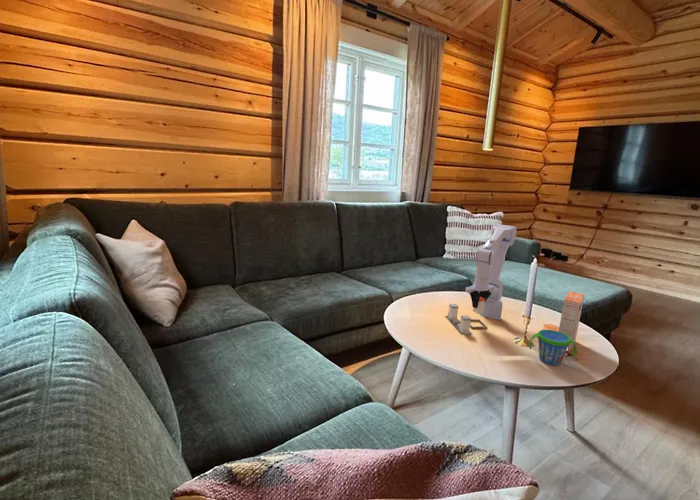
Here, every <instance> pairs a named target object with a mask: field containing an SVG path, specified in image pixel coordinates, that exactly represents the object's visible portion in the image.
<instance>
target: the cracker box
mask: <svg viewBox="0 0 700 500" xmlns="http://www.w3.org/2000/svg"><path fill="white" fill-rule="evenodd" d="M584 299H585V294H584V293H579V292H576V291H572V290H571V291H570V290H569V291H568V293H567V294H566V296H565V298H564V300H563V305H562V310H561V316H560V323H559V327H558V328H559V329H558V332H561V333H564V334H566V335H567V336H569V337H570V339H572V340H573V341H574V342H575V343H576V339H577V334H578V329H579V324H580V320H581V319H580V318H581V315H582V309H583V304H584ZM573 349H574V344H573V343H572V342H571V343H570V344H569V346H568V352H567V353H569V354H572V353H573Z"/></svg>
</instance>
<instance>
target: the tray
mask: <svg viewBox="0 0 700 500" xmlns="http://www.w3.org/2000/svg"><path fill="white" fill-rule="evenodd" d="M473 322H475V323H476V322H477V323H479V324H480V325H481V326H473V325H472V324H470V329H471V330H488V326H487V325H486V324H485V323H483V321H482V320H480V319H479V318H476V319H475V318H474V319H472V318H471V322H470V323H473Z"/></svg>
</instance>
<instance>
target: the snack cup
mask: <svg viewBox="0 0 700 500" xmlns="http://www.w3.org/2000/svg"><path fill="white" fill-rule="evenodd" d="M535 338H537V339H538V358H539V359H540V361H542V362H543V363H545V364H548V365H554V366H559V365H560V364H562V362H563V361H564V357H565V355H566V349H567V347H568V346H569V344H570V343H571V342H572V343H573V344H574V346H573V349H572V352H571V355H572V357H576V355H577V349H578V348H577V344H576V341H575V342H574V341H573V340H572V339H570V337H569V336H567V335H566V334H564V333H561V332H559V330H554V329H540V330H539V331H538V332H537V333H534V334H533V335H532V336H531V337H530V338H529V341H528V347H529V350H532V341H533V340H534V339H535Z"/></svg>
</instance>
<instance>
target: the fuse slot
mask: <svg viewBox="0 0 700 500" xmlns="http://www.w3.org/2000/svg"><path fill="white" fill-rule="evenodd" d="M471 319H472V318H471V317H470V316H469V315H460V320H459V321H460V328H459V330H460V331H461V332H462V333H463V331H470V329H471V328H470V325H471V323H472V322H471Z"/></svg>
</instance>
